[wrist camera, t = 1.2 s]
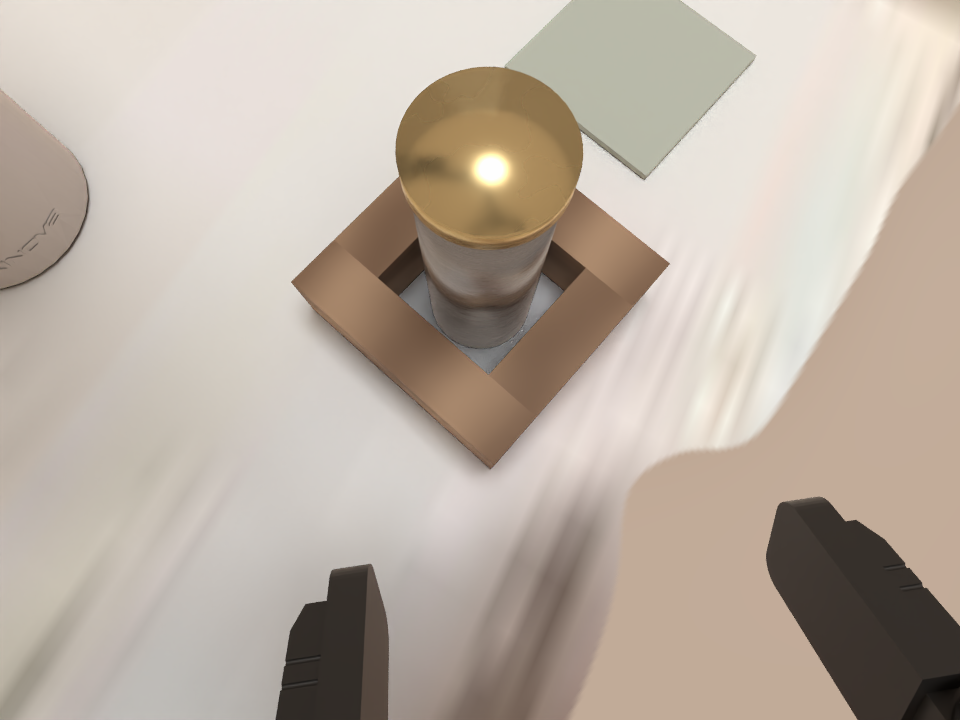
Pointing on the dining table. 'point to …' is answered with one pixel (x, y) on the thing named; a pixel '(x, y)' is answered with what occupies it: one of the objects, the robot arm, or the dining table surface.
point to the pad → (634, 72)
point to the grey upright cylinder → (486, 194)
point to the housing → (439, 363)
